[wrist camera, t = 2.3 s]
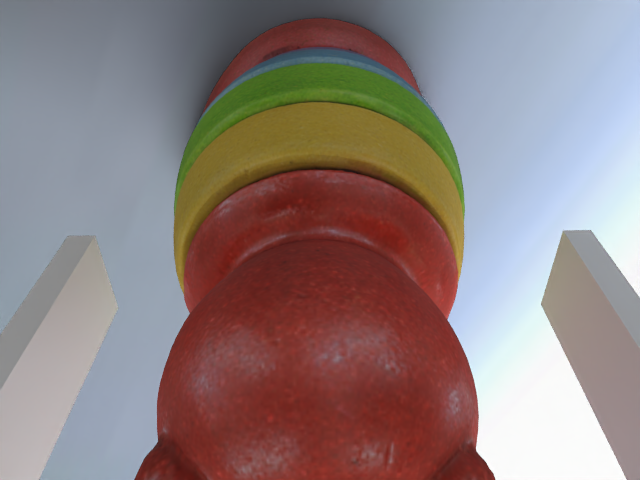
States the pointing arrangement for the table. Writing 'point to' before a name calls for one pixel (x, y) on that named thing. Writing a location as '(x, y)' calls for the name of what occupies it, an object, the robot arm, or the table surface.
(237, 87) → the stacking bear
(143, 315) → the table surface
